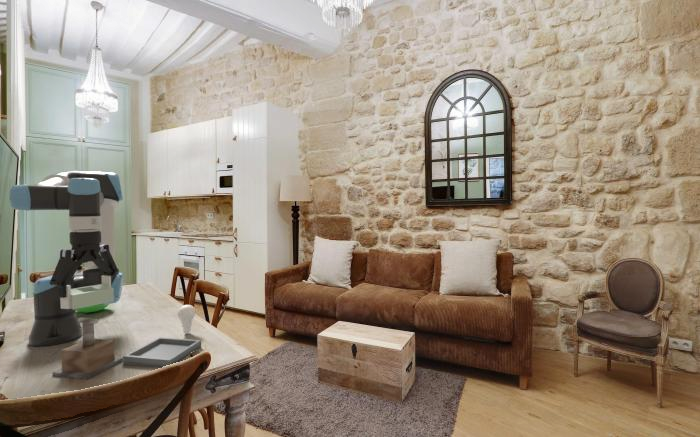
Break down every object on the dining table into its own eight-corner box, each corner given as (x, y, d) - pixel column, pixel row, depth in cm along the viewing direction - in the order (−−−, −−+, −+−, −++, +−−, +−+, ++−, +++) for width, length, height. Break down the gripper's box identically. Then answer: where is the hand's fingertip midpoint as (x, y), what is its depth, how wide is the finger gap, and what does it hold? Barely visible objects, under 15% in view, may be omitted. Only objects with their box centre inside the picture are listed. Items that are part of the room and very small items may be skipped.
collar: (114, 301, 107) (113, 288, 106) (73, 309, 99) (72, 295, 98) (101, 296, 113) (101, 284, 112) (62, 303, 105) (61, 290, 104)
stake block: (52, 375, 102) (50, 324, 101) (90, 357, 113) (88, 311, 113) (88, 379, 100) (86, 326, 99) (122, 360, 111) (121, 313, 111)
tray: (123, 364, 109) (123, 356, 109) (159, 344, 125) (159, 337, 125) (169, 368, 106) (169, 360, 106) (201, 347, 122) (201, 340, 122)
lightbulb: (176, 337, 131) (176, 307, 131) (179, 331, 137) (179, 303, 137) (194, 335, 133) (194, 306, 132) (197, 330, 139) (196, 302, 138)
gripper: (54, 234, 92) (57, 315, 93) (129, 227, 116) (131, 292, 117) (30, 234, 93) (33, 313, 94) (109, 227, 118) (111, 291, 119)
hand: (87, 301), depth 106 cm, fingers closed on collar, 13 cm apart
